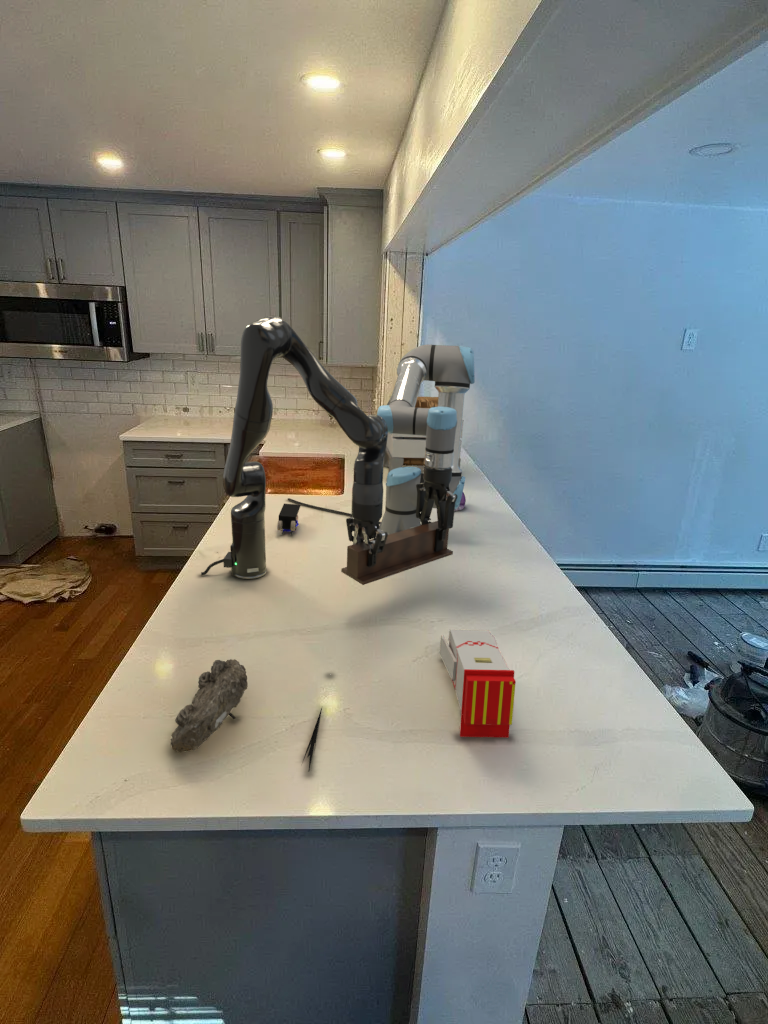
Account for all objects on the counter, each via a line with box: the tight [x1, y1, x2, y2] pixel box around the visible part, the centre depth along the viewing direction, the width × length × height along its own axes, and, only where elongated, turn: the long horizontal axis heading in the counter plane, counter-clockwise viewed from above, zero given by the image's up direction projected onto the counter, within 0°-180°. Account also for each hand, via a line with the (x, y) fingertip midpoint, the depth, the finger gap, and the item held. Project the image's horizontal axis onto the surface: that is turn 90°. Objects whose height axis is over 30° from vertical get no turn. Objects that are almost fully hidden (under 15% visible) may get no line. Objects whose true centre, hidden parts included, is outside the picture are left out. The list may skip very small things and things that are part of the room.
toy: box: [438, 628, 517, 738], centre depth 117 cm, size 12×13×30 cm
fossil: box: [170, 658, 249, 753], centre depth 106 cm, size 22×10×15 cm
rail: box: [340, 520, 454, 586], centre depth 150 cm, size 32×9×8 cm, turn 130°
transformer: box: [383, 396, 464, 473], centre depth 268 cm, size 34×33×41 cm
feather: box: [301, 673, 332, 771], centre depth 108 cm, size 2×28×2 cm
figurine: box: [454, 492, 467, 512], centre depth 226 cm, size 9×10×15 cm
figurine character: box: [276, 503, 301, 536], centre depth 198 cm, size 7×8×15 cm
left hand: (364, 562), depth 143 cm, fingers closed on rail, 4 cm apart
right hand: (431, 546), depth 158 cm, fingers closed on rail, 4 cm apart
